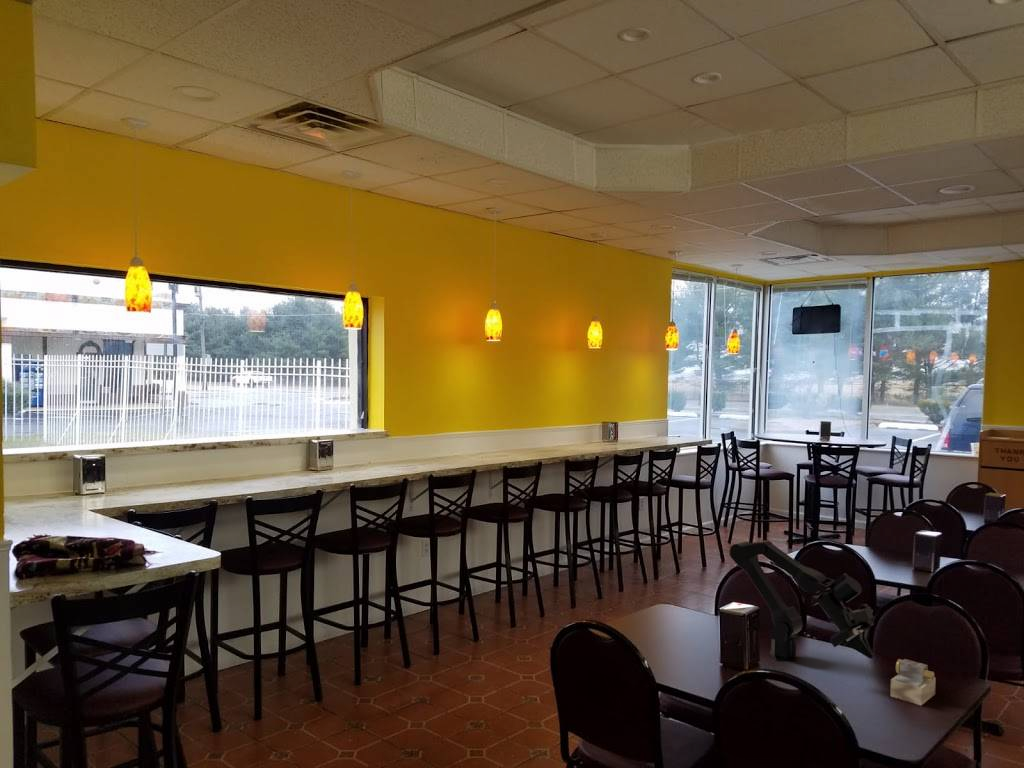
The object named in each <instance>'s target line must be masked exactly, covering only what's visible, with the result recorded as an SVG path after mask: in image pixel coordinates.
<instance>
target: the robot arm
mask: <svg viewBox="0 0 1024 768" xmlns="http://www.w3.org/2000/svg"><path fill="white" fill-rule="evenodd" d="M728 553H729V556H730V558H731V559H732V560H733V562H734V563H735V564H736V565H737V566H738V567H740V568H741V569H742V570H744V571H745V572H746V574H747V575H748V577H749V578H750V580H751V582H752V583H753V585H754V586H755V588H756V590H757V591H758V592H759V594H760V595H761V597H762V599H763V600H764V602H765V604H766V605H767V607H768V608H769V610H770V611H771V616H772V617H771V618H772V623H773V625H774V627H773V628H771V629H770V630H768V632H767V634H768V636H769V639H770V640H771V644H770V645H771V646H770V647H771V649H770V650H769V654H770V655H771V656H772V657H773V658H774V659H775V660H776V661H797V658H796V655H797V643H796V642H795V641H796V640H795V638H794V637H796V636H797V635H798V633H799V632H801V630H802V629H803V625H804V623H803V621H802V618H803V617H802V615H800V614H799V612H798V610H797V608H796V607H795V606H794V605H793V606H788V605H787V604H786V603H785V602H784V601H783V599H782V597H781V596H780V595H779V593H778V591H777V590H776V588H775V586H774V585H773V584H772V582H771V580H770V579H769V578H768V575H767V574H766V573H765V571H764V570H763V568H762V566H761V564H760V561H759V555H763V556H764V557H765V558H766V559H768V560H769V561H771V562H772V563H773V564H775V565H776V566H777V567H779V568H781V569H782V570H783V571H784V572H785V573H787V574H789V575H790V576H791V577H792V578H793V579H794V580H795V582H796V584H797V585H798V586H799V587H800V588H801V589H802V590H803V591H804V592H805V593H806V594H809V595H813V596H811V603H810V605H811V607H814V606H816V605H819V606H820V607H821V609H822V610H823V612H824V613H825V614H826V615H827V617H828V618H829V619H828V620H827V621H828V623H830V624H832V623H833V625H834V626H835V627H836V629H837V630H838V631H837V632H836V633H835V634H833V635H832V636H831V637H830V639H829V640H830V641H829V642H830V644H831V645H832V646H833V648H836V647H838V646H839V645H840V644H842V643H843V642H844V643H843V645H844V646H847V647H849V648H851V649H853V650H855V651H856V652H858V653H860V654H862V655H863V656H865V657H866V658H868V659H870V660H871V659H873V658H874V657H875V655H874V653H873V651H872V648H871V646H870V644H869V640H868V637H867V636H868V632H869V628H870V627H872V626H873V625H874V624H875V622H874V621H873V620H874V619H875V618H874V615H873V613H874V609H872V607H871V606H869V604H867V603H863V604H861V605H859V609H856V610H853V609H852V608H851V607H849V606H847V607H846V606H845V605H844V603H847V604H848V602H850V601H851V600H853V599H854V598H856V597H857V596H858V595H860V594H861V593H862V592H863V589H862V586H861V584H860V583H859V581H858V580H856V579H854V577H852V576H849V574H848V573H846V572H845V573H842V574H841V575H840V576H839V577H838V578H837V579H836V580H835V579H832V578H829V577H827V576H826V575H825V574H823V573H822V572H821V571H818V570H816V569H814V568H811V567H808V566H805V565H803V564H801V563H800V562H799V561H797V560H796V559H795V558H793V557H792V556H790V555H788V554H787V553H786V552H784V550H781V549H780V548H779V547H778V546H776V545H775V544H773V543H772V541H770V540H768V539H767V540H762V541H758V542H749V541H740V542H738V543H734V544H732V545H731V546H730V548H729V552H728ZM828 590H830V591H828ZM827 591H828V592H827ZM818 593H819V595H814V594H818ZM872 619H873V620H872ZM845 641H846V642H845Z"/></svg>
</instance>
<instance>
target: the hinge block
mask: <svg viewBox="0 0 1024 768" xmlns="http://www.w3.org/2000/svg"><path fill="white" fill-rule="evenodd" d="M902 660H903V661H901V662H900V674H898V673H897V675H895V676H894V677H892V678H891V679H890V697H892V698H894V699H898V698H899V700H902V701H905V702H908V703H911V704H915V705H918V706H923V705H924V704H925V703H926V702H927V701H928V700H930V699H932V697H933V696H935V695H936V677H935V676H934V679H933V680H932V679H929V678H925V677H923V670H928V666H929V665H928V664H926V663H921V662H918V661H914V660H911V659H906V658H904V659H902ZM928 671H929V670H928Z"/></svg>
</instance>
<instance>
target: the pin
mask: <svg viewBox="0 0 1024 768" xmlns="http://www.w3.org/2000/svg"><path fill="white" fill-rule="evenodd" d="M903 660H904V659H900V658H898V659H897V660H896V663H895V673H896V674H897V675H898V674H900V662H901V661H903ZM923 677H925V678H929V679H932V680H933V679H934V677H935V672H934V671H930V670H923Z"/></svg>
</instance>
